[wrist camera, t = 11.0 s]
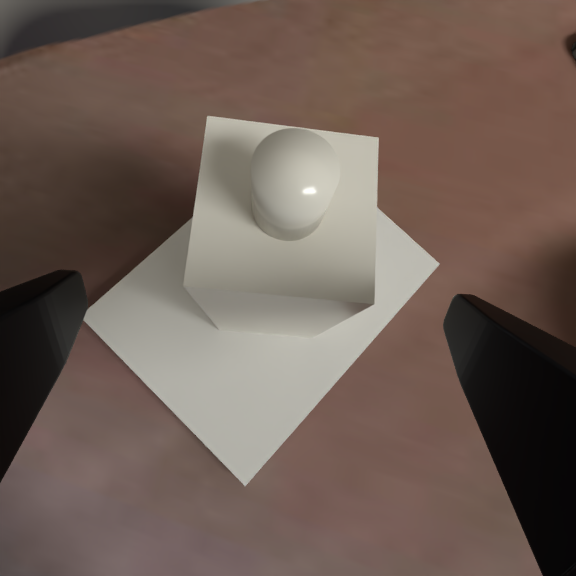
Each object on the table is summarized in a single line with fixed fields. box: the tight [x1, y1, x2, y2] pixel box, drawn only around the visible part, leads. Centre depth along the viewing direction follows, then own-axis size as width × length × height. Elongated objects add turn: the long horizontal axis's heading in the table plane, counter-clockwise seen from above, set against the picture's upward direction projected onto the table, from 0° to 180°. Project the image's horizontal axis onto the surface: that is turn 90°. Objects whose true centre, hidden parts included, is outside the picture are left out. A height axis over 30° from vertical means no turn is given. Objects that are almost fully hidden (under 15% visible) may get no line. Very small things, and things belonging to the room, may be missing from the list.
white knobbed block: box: [183, 116, 379, 338], centre depth 14 cm, size 5×5×12 cm
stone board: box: [83, 208, 439, 486], centre depth 21 cm, size 16×12×1 cm
